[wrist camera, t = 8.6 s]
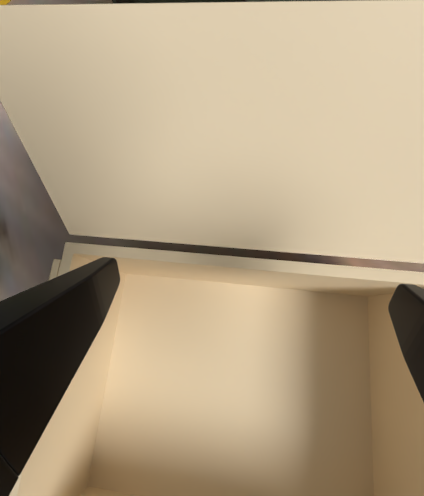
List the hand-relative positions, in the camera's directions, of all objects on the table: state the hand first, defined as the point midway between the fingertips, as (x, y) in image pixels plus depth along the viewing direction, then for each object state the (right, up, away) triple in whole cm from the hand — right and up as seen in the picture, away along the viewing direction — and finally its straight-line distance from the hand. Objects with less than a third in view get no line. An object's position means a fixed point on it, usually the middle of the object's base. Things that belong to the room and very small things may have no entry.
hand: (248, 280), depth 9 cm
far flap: (0, +4, +1) cm, 5 cm away
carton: (0, -9, +11) cm, 14 cm away
